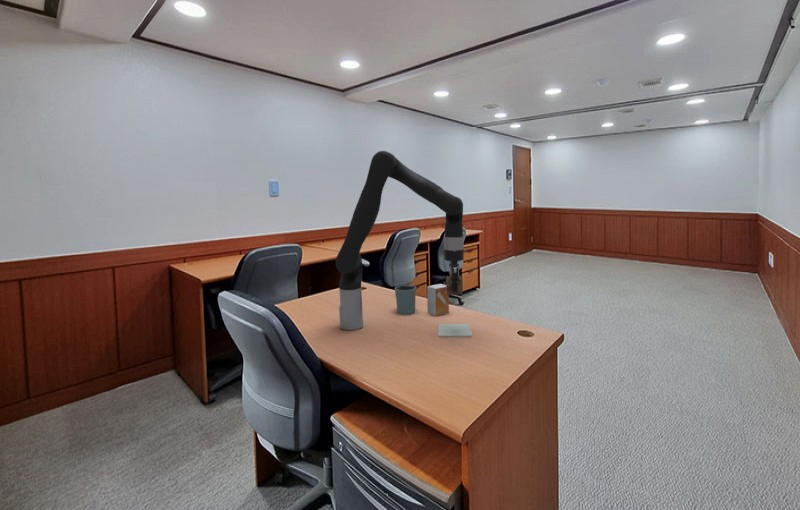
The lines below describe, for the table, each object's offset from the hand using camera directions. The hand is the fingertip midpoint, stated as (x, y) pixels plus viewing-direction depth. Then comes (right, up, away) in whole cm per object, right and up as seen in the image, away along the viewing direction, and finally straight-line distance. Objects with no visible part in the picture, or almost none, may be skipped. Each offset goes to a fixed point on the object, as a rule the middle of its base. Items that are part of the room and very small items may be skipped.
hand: (454, 289), depth 151 cm
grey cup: (-19, -13, +29) cm, 37 cm away
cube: (0, -1, 0) cm, 1 cm away
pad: (+1, -17, +3) cm, 17 cm away
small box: (-4, -14, +26) cm, 30 cm away
